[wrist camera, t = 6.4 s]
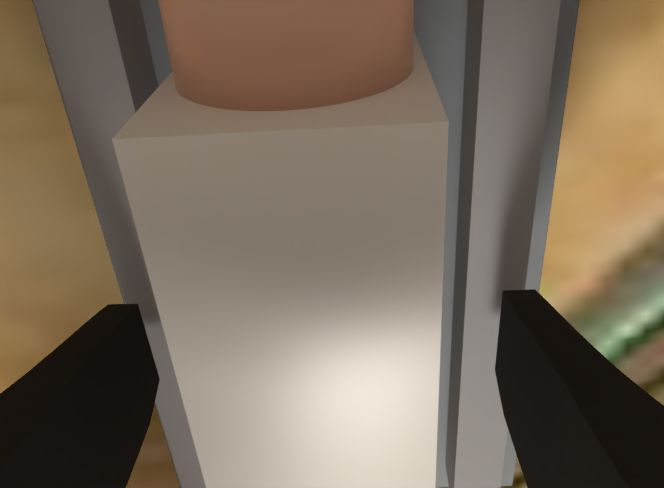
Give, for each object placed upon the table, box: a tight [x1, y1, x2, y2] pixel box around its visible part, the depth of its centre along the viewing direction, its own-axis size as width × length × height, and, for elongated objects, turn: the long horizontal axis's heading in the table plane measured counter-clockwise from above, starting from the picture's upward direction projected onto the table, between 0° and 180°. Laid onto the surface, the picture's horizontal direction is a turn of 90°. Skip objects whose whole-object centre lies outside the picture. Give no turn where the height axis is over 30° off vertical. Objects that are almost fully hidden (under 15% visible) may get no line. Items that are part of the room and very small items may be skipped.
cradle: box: [32, 0, 579, 488], centre depth 14 cm, size 16×10×2 cm, turn 4°
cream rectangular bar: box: [112, 0, 449, 488], centre depth 12 cm, size 13×4×5 cm, turn 4°
